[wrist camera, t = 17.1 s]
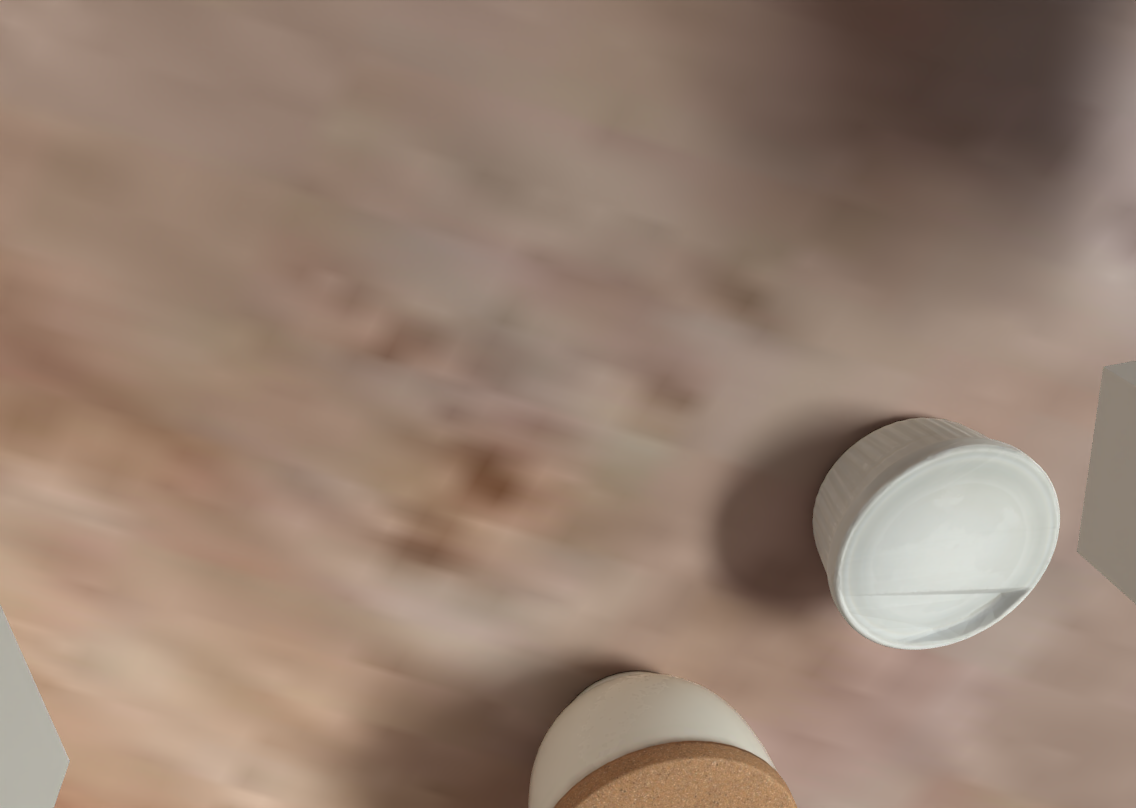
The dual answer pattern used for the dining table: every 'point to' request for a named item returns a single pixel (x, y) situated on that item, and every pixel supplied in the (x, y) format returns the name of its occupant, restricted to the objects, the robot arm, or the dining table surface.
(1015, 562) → the ramekin
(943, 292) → the dining table surface
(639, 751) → the lidded bowl
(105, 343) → the dining table surface
